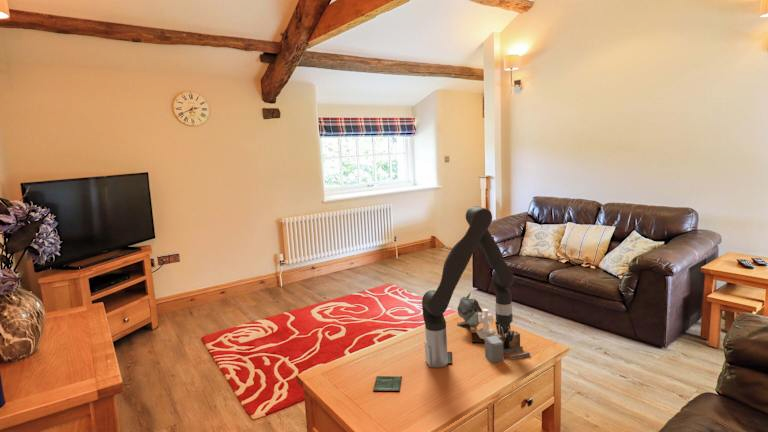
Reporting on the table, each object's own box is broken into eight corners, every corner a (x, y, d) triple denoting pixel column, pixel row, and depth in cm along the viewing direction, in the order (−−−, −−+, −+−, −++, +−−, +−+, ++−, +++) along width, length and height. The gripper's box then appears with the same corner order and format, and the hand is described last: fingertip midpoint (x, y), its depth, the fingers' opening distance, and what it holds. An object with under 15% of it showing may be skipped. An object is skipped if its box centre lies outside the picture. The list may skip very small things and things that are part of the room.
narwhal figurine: (456, 335, 218) (455, 302, 215) (457, 323, 233) (455, 291, 230) (485, 335, 215) (484, 302, 213) (483, 323, 230) (482, 291, 227)
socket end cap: (492, 363, 189) (491, 344, 187) (485, 356, 195) (484, 337, 194) (503, 360, 190) (503, 342, 189) (496, 353, 197) (495, 335, 195)
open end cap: (509, 359, 191) (509, 356, 190) (502, 352, 197) (502, 349, 197) (529, 355, 193) (529, 352, 192) (521, 349, 199) (521, 346, 199)
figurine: (498, 337, 213) (497, 308, 211) (485, 343, 208) (484, 314, 205) (486, 332, 219) (485, 304, 216) (474, 338, 213) (473, 310, 211)
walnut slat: (492, 353, 198) (492, 338, 197) (489, 349, 201) (489, 335, 200) (520, 348, 201) (520, 334, 200) (516, 344, 204) (516, 331, 203)
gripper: (489, 307, 204) (490, 341, 207) (504, 318, 190) (504, 354, 193) (503, 305, 205) (504, 338, 208) (519, 315, 192) (520, 351, 195)
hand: (504, 346), depth 201 cm, fingers closed on walnut slat, 3 cm apart
